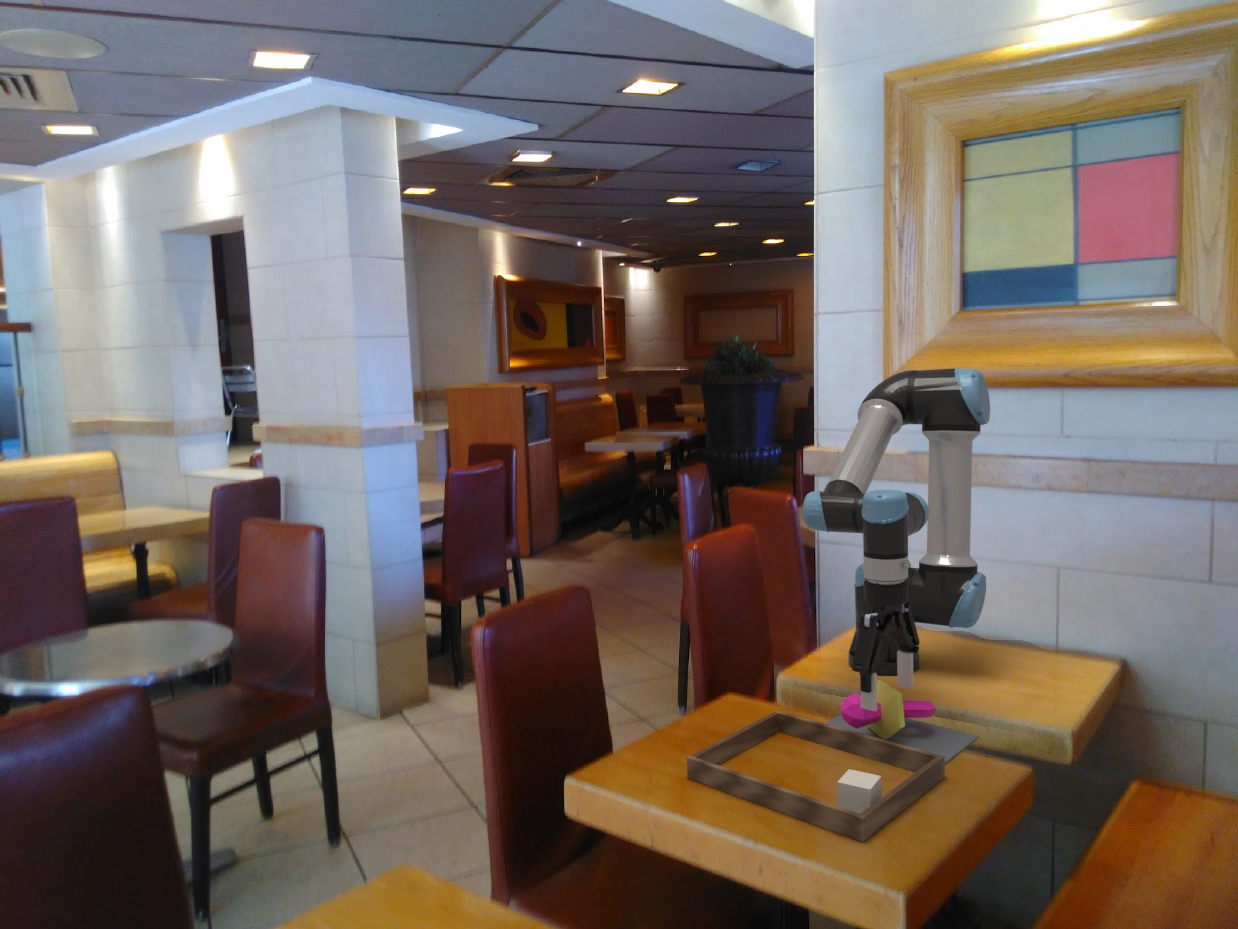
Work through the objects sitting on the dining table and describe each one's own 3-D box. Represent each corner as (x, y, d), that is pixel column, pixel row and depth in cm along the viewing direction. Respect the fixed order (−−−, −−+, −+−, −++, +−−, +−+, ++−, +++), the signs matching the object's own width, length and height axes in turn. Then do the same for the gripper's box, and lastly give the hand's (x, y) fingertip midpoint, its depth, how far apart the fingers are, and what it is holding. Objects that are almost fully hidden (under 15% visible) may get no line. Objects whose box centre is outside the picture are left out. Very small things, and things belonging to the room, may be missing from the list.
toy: (949, 739, 157) (942, 678, 160) (859, 744, 152) (854, 680, 154) (913, 737, 166) (908, 679, 169) (827, 740, 161) (823, 681, 163)
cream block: (837, 814, 135) (837, 782, 134) (849, 800, 139) (849, 769, 138) (870, 822, 132) (870, 789, 131) (881, 807, 136) (881, 776, 136)
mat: (805, 736, 163) (805, 734, 163) (856, 707, 176) (856, 705, 176) (932, 774, 146) (932, 771, 146) (978, 738, 159) (978, 736, 159)
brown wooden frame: (687, 778, 149) (686, 757, 148) (777, 728, 167) (777, 710, 167) (863, 842, 126) (862, 818, 126) (944, 777, 145) (944, 756, 144)
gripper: (870, 597, 146) (872, 724, 148) (938, 568, 163) (939, 682, 166) (829, 591, 151) (832, 714, 153) (899, 563, 169) (901, 674, 171)
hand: (887, 698), depth 159 cm, fingers open, 13 cm apart
